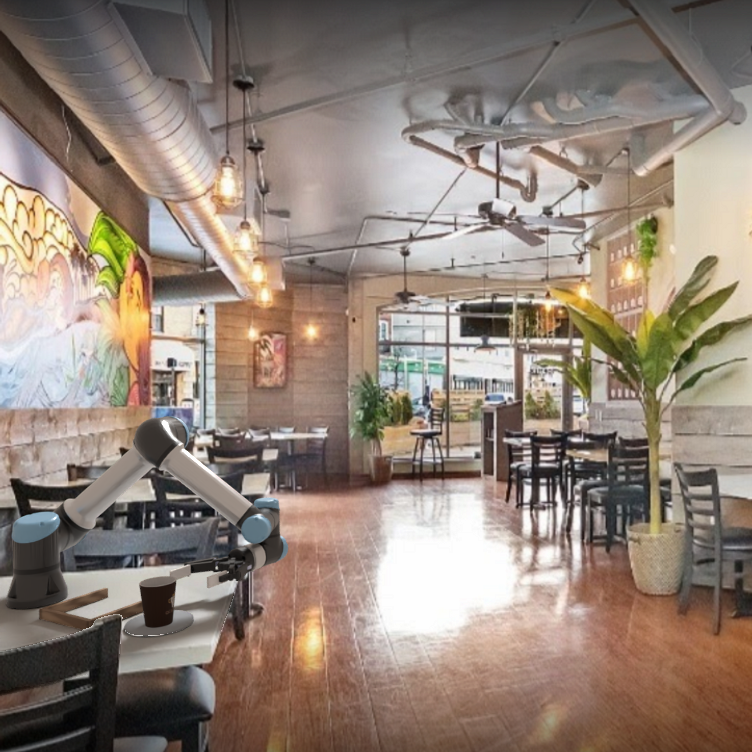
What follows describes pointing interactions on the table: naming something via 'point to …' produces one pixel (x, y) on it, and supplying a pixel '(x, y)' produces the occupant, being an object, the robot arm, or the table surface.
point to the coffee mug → (158, 600)
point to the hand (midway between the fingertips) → (188, 579)
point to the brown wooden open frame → (57, 610)
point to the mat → (179, 622)
